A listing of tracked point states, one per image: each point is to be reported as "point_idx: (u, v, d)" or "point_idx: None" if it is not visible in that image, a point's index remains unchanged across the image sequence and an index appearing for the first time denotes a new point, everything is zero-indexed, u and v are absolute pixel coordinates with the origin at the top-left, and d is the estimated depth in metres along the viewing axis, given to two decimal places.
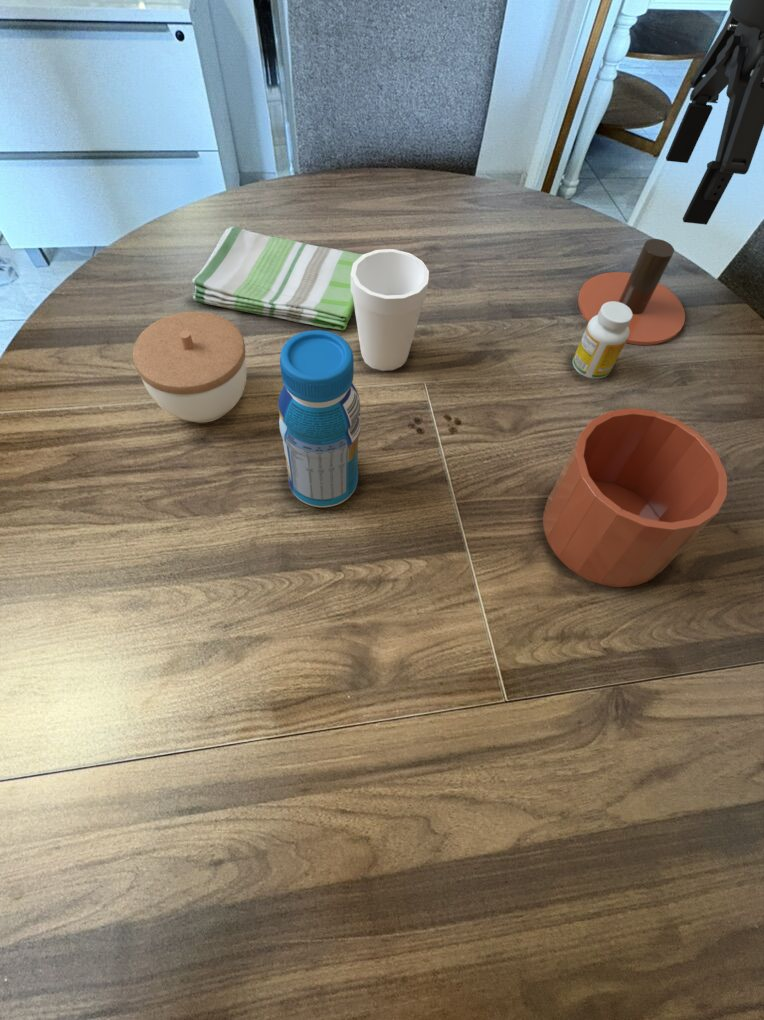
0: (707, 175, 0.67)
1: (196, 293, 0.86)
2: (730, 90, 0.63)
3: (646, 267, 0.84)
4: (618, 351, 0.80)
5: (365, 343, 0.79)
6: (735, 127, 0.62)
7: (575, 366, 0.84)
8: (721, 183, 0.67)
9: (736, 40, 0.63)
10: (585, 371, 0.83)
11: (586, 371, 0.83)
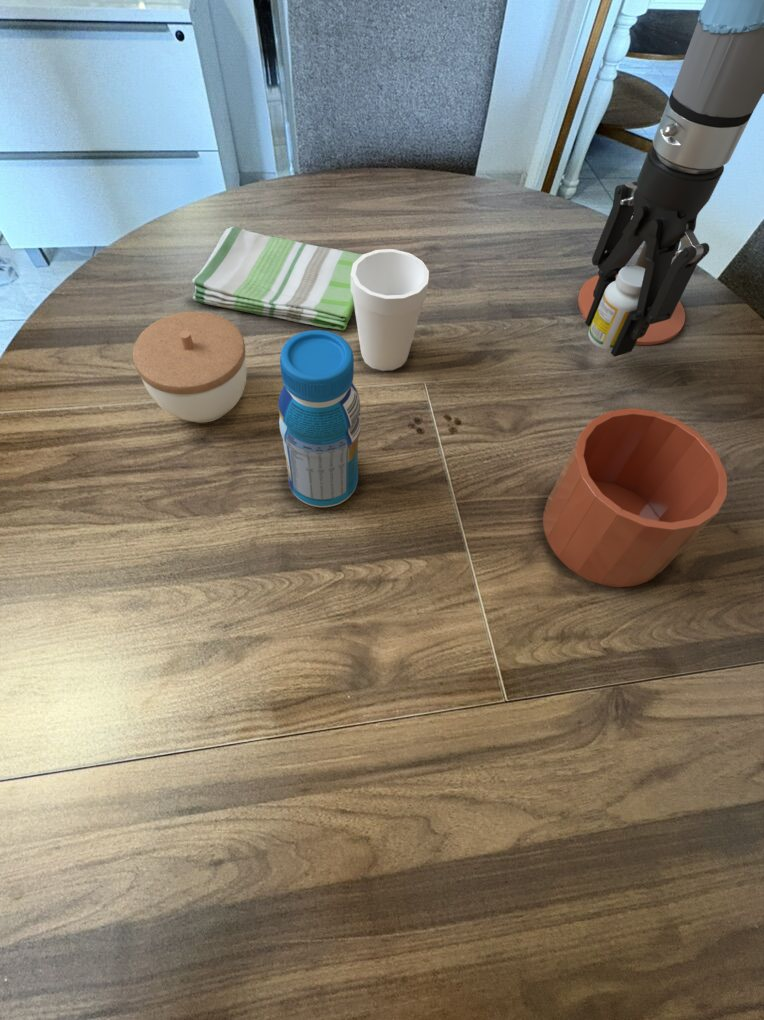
0: (630, 322, 0.74)
1: (196, 293, 0.86)
2: (650, 259, 0.67)
3: None
4: None
5: (365, 343, 0.79)
6: (661, 293, 0.68)
7: (591, 336, 0.79)
8: (645, 326, 0.74)
9: (645, 211, 0.66)
10: (602, 341, 0.78)
11: (603, 341, 0.78)
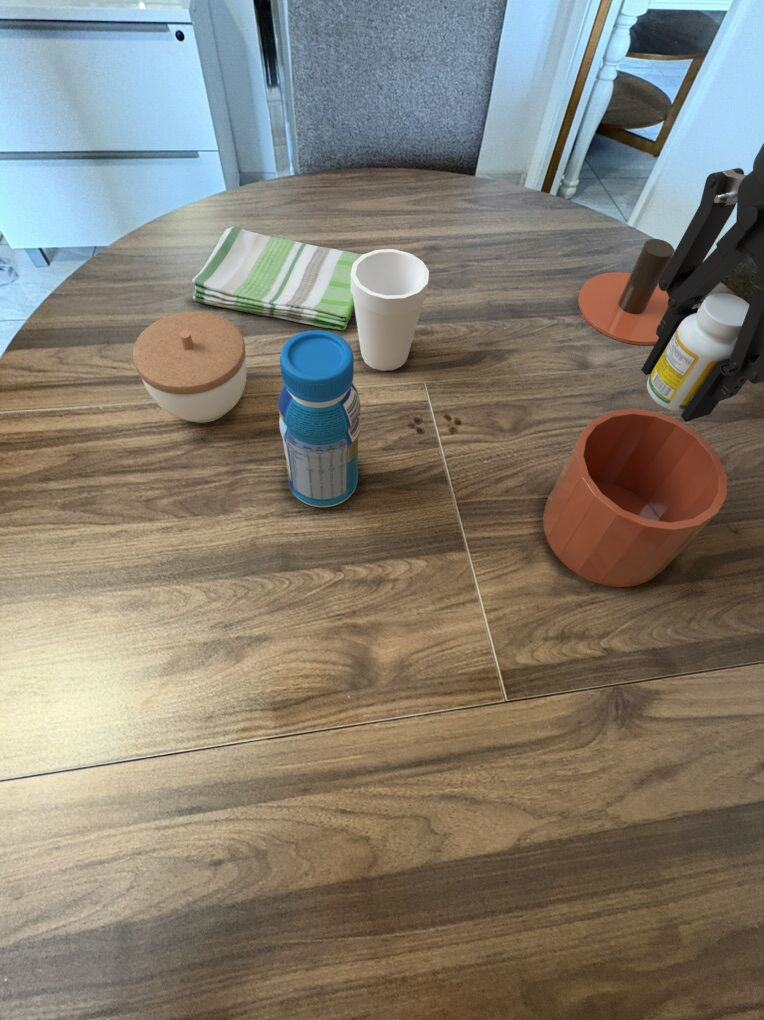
0: (717, 377, 0.50)
1: (196, 293, 0.86)
2: None
3: (646, 267, 0.84)
4: None
5: (365, 343, 0.79)
6: None
7: (653, 391, 0.56)
8: (739, 383, 0.50)
9: (761, 214, 0.42)
10: (669, 399, 0.54)
11: (671, 400, 0.54)
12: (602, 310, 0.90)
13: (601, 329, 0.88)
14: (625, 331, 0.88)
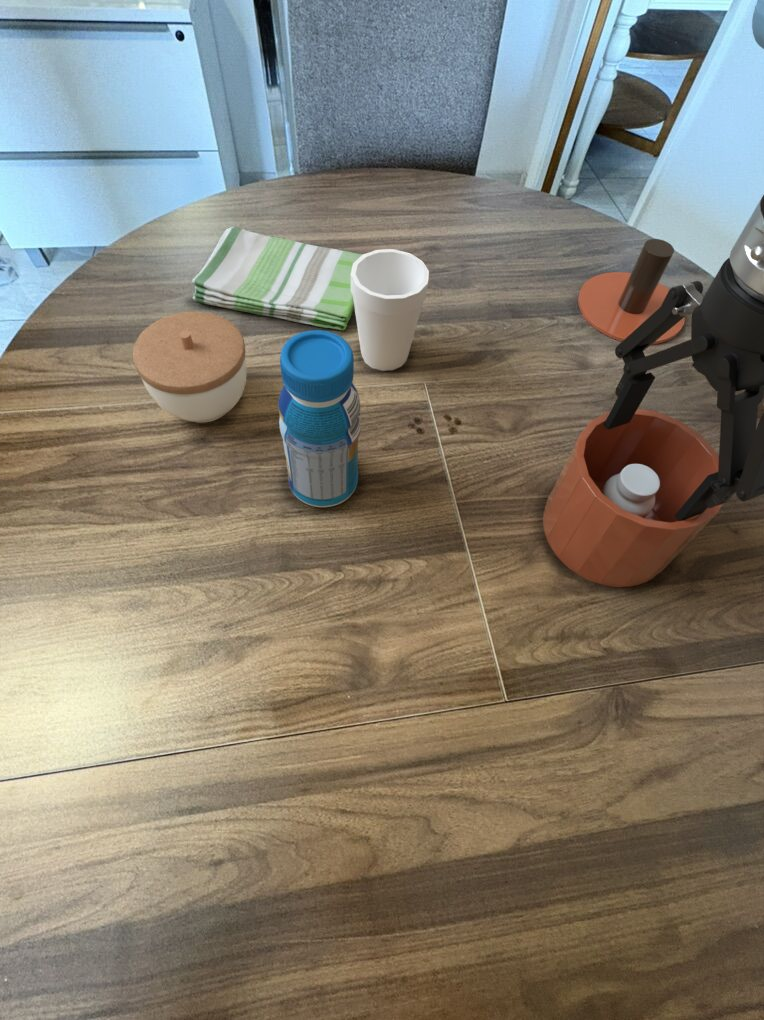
0: (708, 488, 0.53)
1: (196, 293, 0.86)
2: (727, 409, 0.48)
3: (646, 267, 0.84)
4: None
5: (365, 343, 0.79)
6: (752, 459, 0.47)
7: None
8: (729, 494, 0.52)
9: (711, 343, 0.47)
10: None
11: None
12: (602, 310, 0.90)
13: (601, 329, 0.88)
14: (625, 331, 0.88)
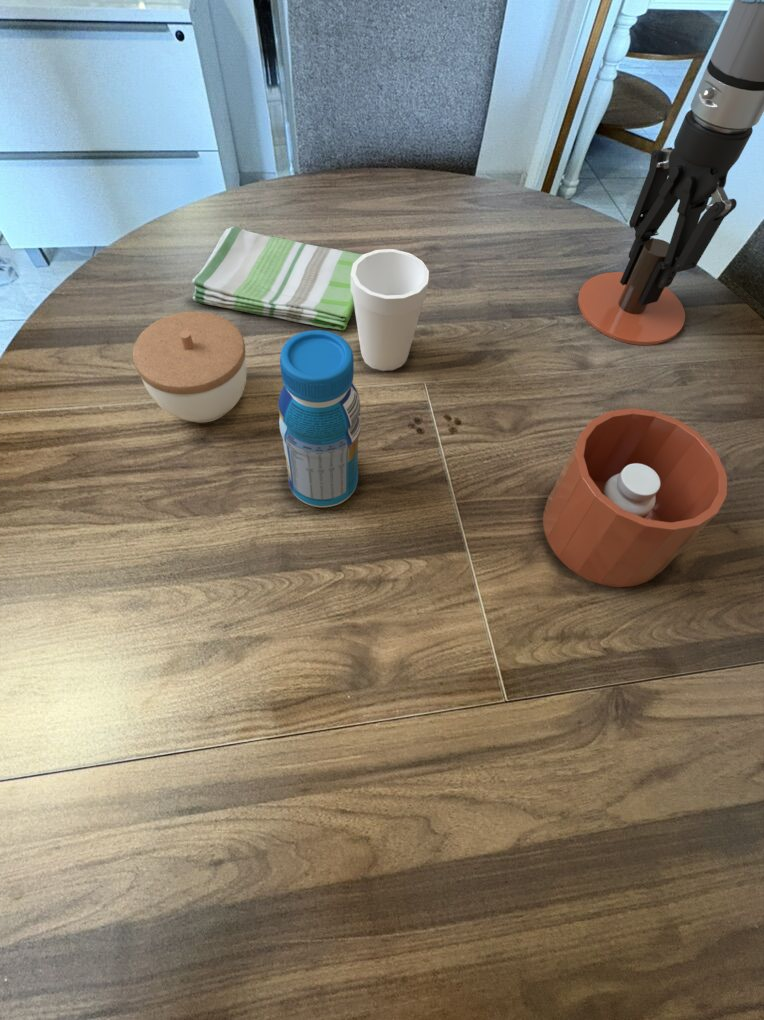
0: (658, 271, 0.82)
1: (196, 293, 0.86)
2: (682, 213, 0.76)
3: (646, 267, 0.84)
4: None
5: (365, 343, 0.79)
6: (690, 243, 0.77)
7: None
8: (671, 275, 0.82)
9: (680, 170, 0.74)
10: None
11: None
12: (602, 310, 0.90)
13: (601, 329, 0.88)
14: (625, 331, 0.88)
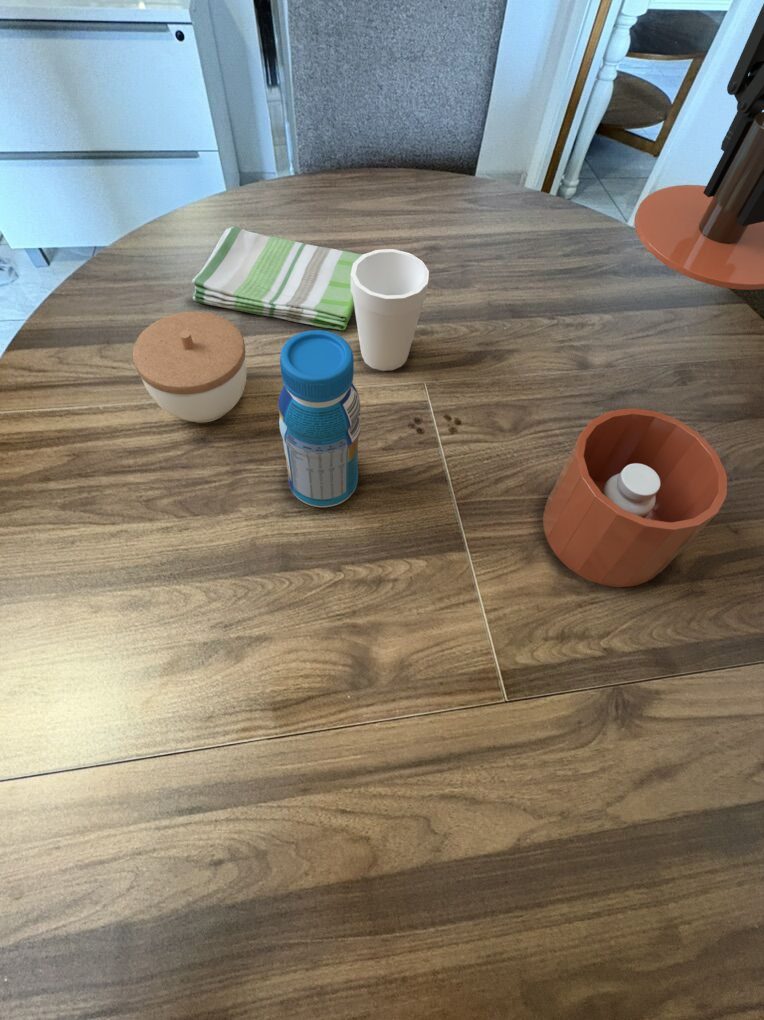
0: None
1: (196, 293, 0.86)
2: None
3: (756, 157, 0.51)
4: None
5: (365, 343, 0.79)
6: None
7: None
8: None
9: None
10: None
11: None
12: (674, 237, 0.57)
13: (675, 264, 0.55)
14: (713, 268, 0.55)
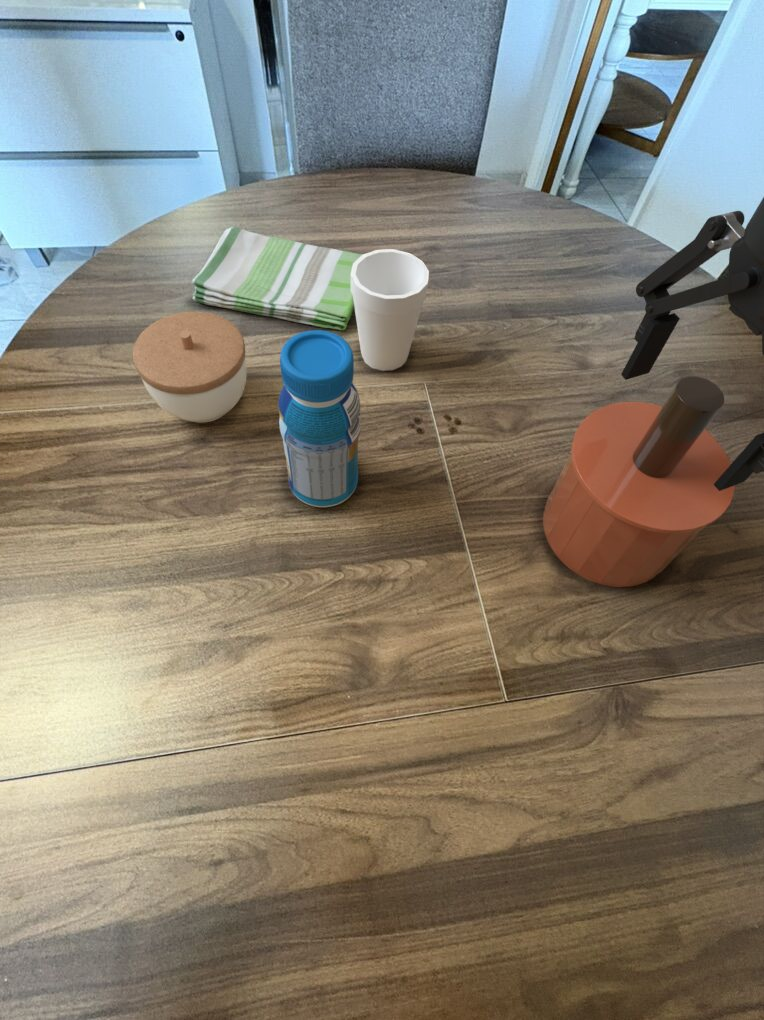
0: (756, 450, 0.47)
1: (196, 293, 0.86)
2: None
3: (679, 422, 0.52)
4: None
5: (365, 343, 0.79)
6: None
7: None
8: None
9: (752, 279, 0.42)
10: None
11: None
12: (608, 471, 0.59)
13: (607, 507, 0.57)
14: (644, 510, 0.56)
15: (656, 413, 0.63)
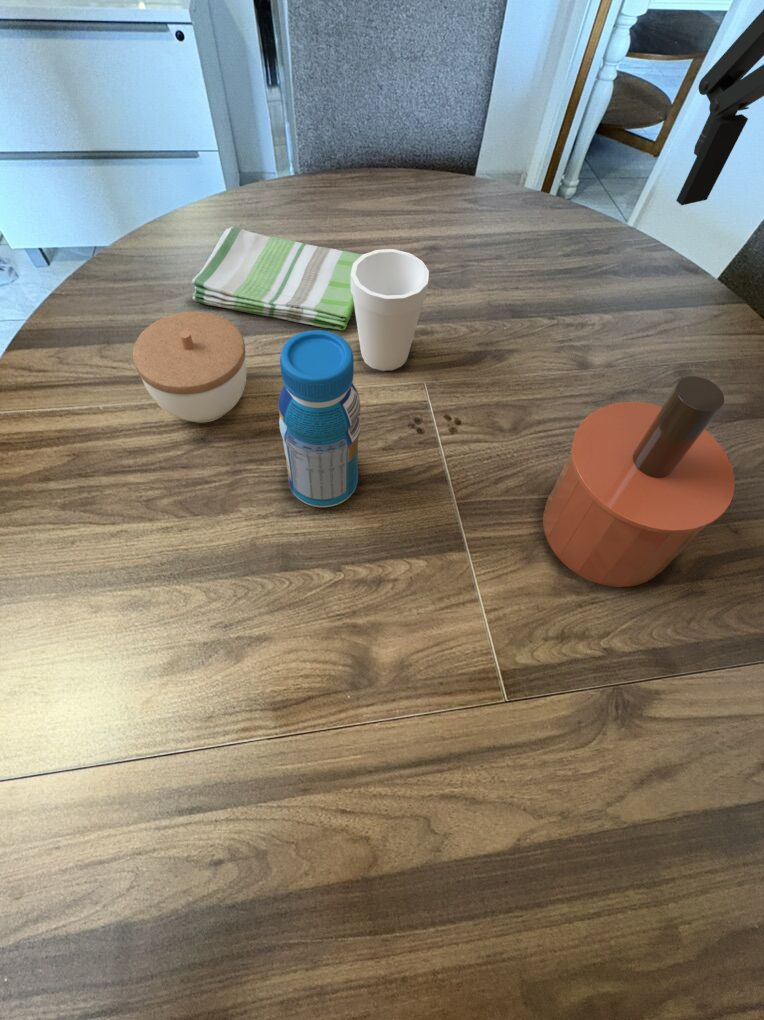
0: None
1: (196, 293, 0.86)
2: None
3: (679, 422, 0.52)
4: None
5: (365, 343, 0.79)
6: None
7: None
8: None
9: None
10: None
11: None
12: (608, 471, 0.59)
13: (607, 507, 0.57)
14: (644, 510, 0.56)
15: (656, 413, 0.63)
